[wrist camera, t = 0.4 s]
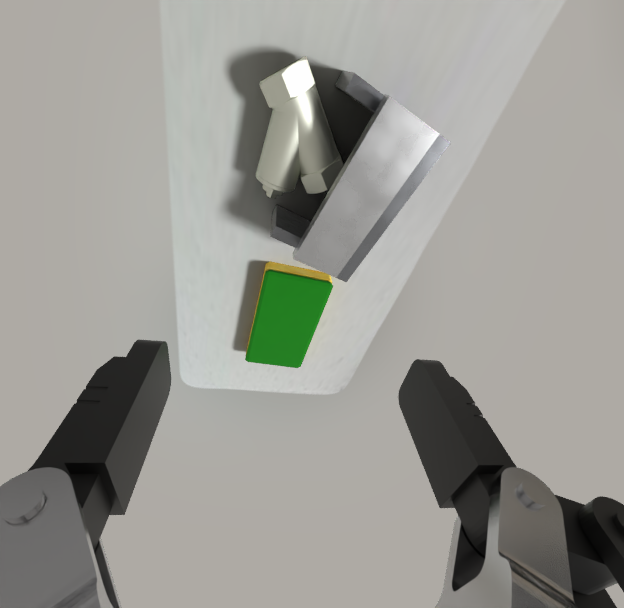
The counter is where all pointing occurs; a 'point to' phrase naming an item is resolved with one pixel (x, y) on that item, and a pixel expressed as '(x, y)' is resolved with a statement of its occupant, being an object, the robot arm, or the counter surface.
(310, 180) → the pipe fitting
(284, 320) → the dish sponge
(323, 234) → the bracket
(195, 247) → the counter surface
